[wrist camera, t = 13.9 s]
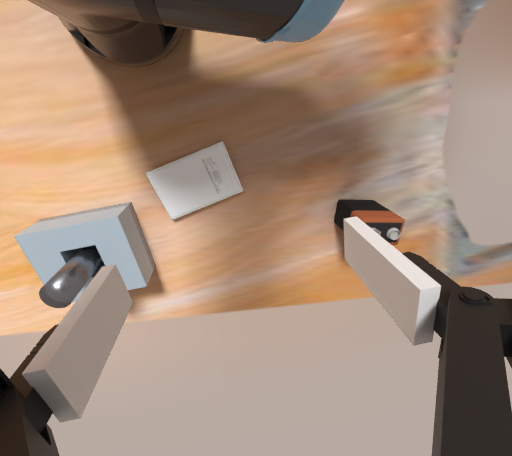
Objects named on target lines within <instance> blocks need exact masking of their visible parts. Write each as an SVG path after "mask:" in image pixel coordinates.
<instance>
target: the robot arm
mask: <svg viewBox="0 0 512 456" xmlns="http://www.w3.org/2000/svg"><path fill="white" fill-rule="evenodd" d="M28 1H30V2H32V3H34V4H36V5H38V6H40V7H41V8H43V9H45V10H47V11H49V12H51V13H53V14H55V15H56V16H58V17H59V19H60V20H61V22H62V23H63V25H64V26H65V27H66V29H67V30H68V31H69V32H70V33H71V34H72V35H73V36H74V37H75V38H76V39H77V40H78V41H79V42H80V43H81V44H82V45H83V46H85V47H86V48H87V49H89V50H90V51H91V52H93V53H95V54H96V55H98V56H100V57H102V58H104V59H106V60H109V61H111V62H114V63H117V64H120V65H125V66H134V67H136V66H145V65H149V64H153V63H155V62H157V61H159V60H161V59H162V58H164V57H165V56H166V55H168V54H169V53H170V52H171V51H172V50H173V48H174V47H175V46H176V44H177V43H178V41H179V39H180V37H181V35H182V33H183V30H184V28H186V29H193V30H200V31H208V32H215V33H222V34H229V35H236V36H244V37H251V38H256V39H257V40H258V41H260V42H263V43H267V42H273V41H285V42H303V41H305V40H309V39H311V38H313V37H315V36H316V35H317V34H319V33H320V32H321V31H322V30H323V29H324V28H325V27H326V26H327V25H328V24H329V22H330V21H331V20H332V19H333V17H334V16H335V14H336V13H337V11H338V10H339V8H340V7H341V5H342V3H343V2H344V0H28ZM344 254H345V260H346V262H347V263H348V264H349V265H350V267H351V268H352V269H353V270H354V272H355V273H356V274H357V275H358V277H359V278H360V279H361V280H362V282H363V283H364V284H365V285H366V287H367V288H368V289H369V290H370V292H371V293H372V294H373V295H374V297H375V298H376V299H377V300H378V302H379V303H380V304H381V305H382V307H383V308H384V309H385V310H386V312H387V313H388V314H389V315H390V317H391V318H392V319H393V320H394V322H395V323H396V324H397V325H398V327H399V328H400V329H401V330H402V332H403V333H404V334H405V335H406V337H407V338H408V339H409V340H410V342H411V343H412V344H413V345H418V344H423V343H428V342H432V340H433V333H434V331H435V332H436V333H437V334H438V335H439V336H440V337H441V338H442V339H441V345H440V350H439V356H438V358H439V370H438V383H437V395H436V408H435V421H434V433H433V434H434V435H433V446H432V456H512V411H511V404H510V397H509V389H508V382H507V375H506V368H505V361H504V357H507V360H508V362H509V363H510V366H511V368H512V299H497V298H496V299H495V298H493V297H492V296H490V295H489V294H488V293H486V292H484V291H482V290H479V289H476V288H472V287H461V286H459V285H458V284H457V283H455V282H454V281H453V280H451V279H450V278H449V277H448V276H446V275H445V274H444V273H442V272H441V271H440V270H438V269H436V267H434V266H433V265H432V264H429V262H428V261H426V260H425V259H424V258H422V257H421V256H419V255H416V254H414V253H411V252H406V253H401V252H399V251H398V250H397V249H396V248H394V247H393V246H392V245H391V244H390V243H388V242H387V241H386V240H385V239H383V238H382V237H381V236H380V235H379V234H377V233H376V232H375V231H374V230H373V229H371V228H370V227H369V226H368V225H366V224H365V223H364V222H363V221H362V220H360V219H359V218H358V217H357V216H356V217H351V218H346V219H344ZM132 304H133V301H132V299H131V297H130V294H129V292H128V290H127V288H126V286H125V283H124V281H123V279H122V277H121V275H120V272H119V270H118V268H117V266H116V264H114V265H109V266H104V267H102V268H101V269H100V270H99V272H98V273H97V274H96V276H95V277H94V278H93V280H92V281H91V282H90V284H89V285H88V286H87V288H86V289H85V290H84V292H83V293H82V294H81V296H80V297H79V298H78V300H77V301H76V302H75V304H74V305H73V306H72V308H71V309H70V310H69V312H68V313H67V314H66V316H65V317H64V318H63V320H62V321H61V322H60V324H58V325H55V326H54V327H53V328H51V329H50V330H49V331H48V332H47V333H45V334H44V335H43V337H42V338H41V339H40V341H39V342H38V343H37V344H36V347H34V348H33V350H32V351H31V352H30V355H28V356H27V357H26V359H25V360H24V361H23V362H22V364H21V365H20V366H19V368H18V369H17V370H16V371H15V373H14V374H13V375H12V377H11V378H10V379H9V378H8V377H7V376H6V375H5V374H4V372H3V371H2V370H1V369H0V456H59V453H58V450H57V446H56V443H55V440H54V437H53V434H52V431H51V429H50V427H49V426H48V425H47V422H48V420H49V418H50V417H51V415H52V413H53V414H54V415H55V417H56V418H57V419H58V420H59V421H60V422H64V421H69V420H74V419H78V418H81V416H82V414H83V412H84V409H85V407H86V405H87V403H88V401H89V398H90V396H91V394H92V392H93V389H94V387H95V385H96V383H97V381H98V379H99V376H100V374H101V372H102V370H103V368H104V365H105V363H106V361H107V359H108V356H109V354H110V352H111V350H112V348H113V346H114V344H115V341H116V339H117V337H118V335H119V333H120V330H121V328H122V326H123V324H124V322H125V319H126V317H127V315H128V313H129V311H130V308H131V306H132Z"/></svg>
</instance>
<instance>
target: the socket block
mask: <svg viewBox="0 0 512 456" xmlns="http://www.w3.org/2000/svg"><path fill="white" fill-rule="evenodd" d="M14 237H15V239H16V240H17V242H18V244H19V245H20V247H21V248H22V250H23V252H24V253H25V255H26V257H27V258H28V260H29V261H30V263H31V265H32V266H33V268H34V270H35V271H36V273H37V274H38V276H39V278H40V279H41V281H42V283H43V284H44V285H45V284H46V283H47V282H48V281H49V280H50V279H51V278H52V277H53V276H54V275H55V274H56V273H57V272H58V271H59V270H60V269H61V268H62V267H63V266H64V265H65V264H66V263H67V262H68V261H69V260H70V259H71V258H72V257H73V256H74V255H75V254H76V253H77V252H78V251H79V250H80V249H81V248H82V247H87V246H93V245H95V246H96V248H97V250H98V252H99V254H100V256H101V258H102V260H103V262H102V264H101V265H100V266H99V267H98V269H97V270H96V271H95V273H94V274H93V275H92V276H91V278H90V279H89V280H88V282H87V283H86V284H85V286H84V287H83V288H82V289H81V291H80V292H79V293H78V295H77V296H76V297H75V299H74V300H73V301H77V300H78V298H79V297H80V296H81V294H82V293H83V292H84V290H85V289H86V288H87V286H88V285H89V284H90V282H91V281H92V280H93V278H94V277H95V276H96V274H97V273H98V272H99V270H100V269H101V268H102V267H104V266H109V265H114V264H116V266H117V268H118V270H119V272H120V275H121V277H122V279H123V281H124V283H125V286H126V288H127V290H132V289H137V288H142V287H147V285H148V283H149V280H150V278H151V275H152V273H153V271H154V268H155V263H154V261H153V258H152V256H151V253H150V250H149V248H148V245H147V243H146V240H145V237H144V235H143V232H142V229H141V227H140V224H139V222H138V219H137V216H136V214H135V211H134V209H133V206H132V203H131V202H130V203H125V204H119V205H114V206H109V207H104V208H98V209H93V210H88V211H83V212H77V213H72V214H67V215H62V216H56V217H51V218H46V219H41V220H39V221H38V222H36V223H35V224H33V225H31V226H30V227H28V228H27V229H25V230H23V231H22V232H20V233H19V234H17V235H15V236H14ZM73 301H72V302H73Z"/></svg>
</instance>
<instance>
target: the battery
mask: <svg viewBox="0 0 512 456" xmlns="http://www.w3.org/2000/svg"><path fill="white" fill-rule="evenodd" d="M356 216H357V217H358V218H359V219H360V220H362V221H363V222H364V223H365V224H366V225H368V226H369V227H370V228H371V229H373V230H374V231H375V232H376V233H377V234H379V235H380V236H381V237H382V238H383V239H385V240H386V241H387V242H388V243H390V244H391V245H397V244H398V242H399V238H400V235H401V232H402V228H403V225H404V222H405V220H404V219H403V218H401V217H400V216H398V215H396V214H395V213H393V212H392V211H390V210H388V209H387V208H385V207H384V206H382V205H380V204H379V203H377V202H375V201H374V200H339V201H338V203H337V209H336V214H335V219H334V222H335V223H336V224H337V225H338V226H339V227H340V228H341V229H342V230H343V231H344V219H346V218H351V217H356Z"/></svg>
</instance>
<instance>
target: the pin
mask: <svg viewBox="0 0 512 456" xmlns="http://www.w3.org/2000/svg"><path fill="white" fill-rule="evenodd" d="M102 262H103V260H102V258H101V256H100V254H99V252H98V250H97V248H96V246H95V245H93V246H87V247H82V248H81V249H80V250H79V251H78V252H77V253H76V254H75V255H74V256H73V257H72V258H71V259H70V260H69V261H68V262H67V263H66V264H65V265H64V266H63V267H62V268H61V269H60V270H59V271H58V272H57V273H56V274H55V275H54V276H53V277H52V278H51V279H50V280H49V281H48V282H47V283H46V284H45V285H44V286H43V287H42V288H41V289H40V292H39V295H40V298H41V300H42V301H43V302H44V303H45V304H47V305H49V306H51V307H55V308H63V307H66V306H68V305H70V304H71V302H72V301H73V300H74V299H75V297H76V296H77V295H78V293H79V292H80V291H81V289H82V288H83V287H84V286H85V284H86V283H87V282H88V280H89V279H90V278H91V276H92V275H93V274H94V273H95V271H96V270H97V269H98V267H99V266H100V265H101V264H102Z"/></svg>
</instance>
